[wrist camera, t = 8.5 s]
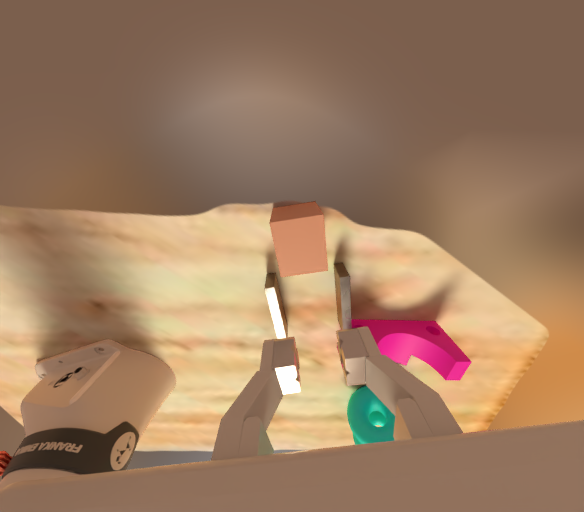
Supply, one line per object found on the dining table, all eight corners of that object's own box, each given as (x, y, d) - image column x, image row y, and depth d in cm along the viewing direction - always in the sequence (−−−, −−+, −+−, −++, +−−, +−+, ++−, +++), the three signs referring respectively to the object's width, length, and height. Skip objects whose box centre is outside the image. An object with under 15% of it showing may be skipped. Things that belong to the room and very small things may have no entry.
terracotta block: (281, 252, 27) (280, 277, 22) (273, 207, 25) (269, 222, 19) (319, 247, 27) (328, 270, 22) (315, 201, 24) (323, 214, 19)
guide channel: (280, 327, 33) (279, 345, 30) (266, 273, 28) (264, 288, 25) (345, 318, 32) (351, 335, 29) (342, 262, 28) (349, 276, 25)
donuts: (392, 377, 39) (423, 442, 30) (394, 405, 44) (423, 470, 35) (340, 387, 40) (355, 453, 31) (348, 414, 45) (363, 479, 36)
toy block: (336, 346, 35) (348, 390, 29) (342, 318, 33) (357, 360, 26) (421, 347, 36) (452, 391, 29) (434, 320, 33) (471, 361, 27)
